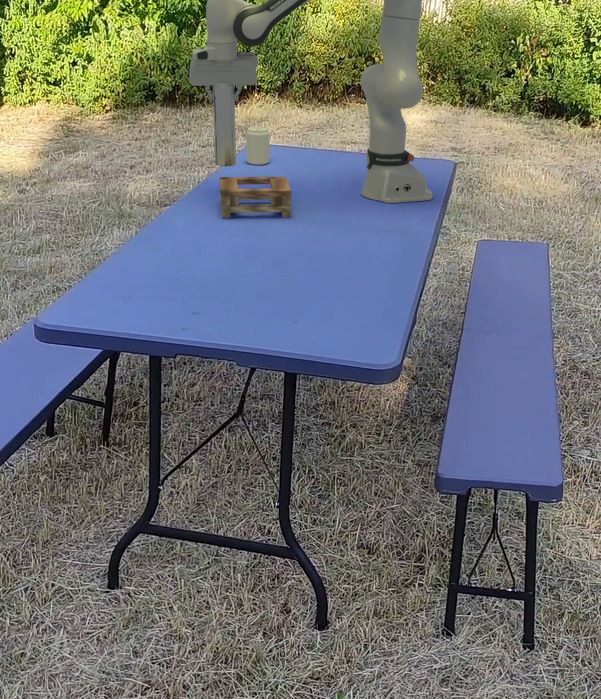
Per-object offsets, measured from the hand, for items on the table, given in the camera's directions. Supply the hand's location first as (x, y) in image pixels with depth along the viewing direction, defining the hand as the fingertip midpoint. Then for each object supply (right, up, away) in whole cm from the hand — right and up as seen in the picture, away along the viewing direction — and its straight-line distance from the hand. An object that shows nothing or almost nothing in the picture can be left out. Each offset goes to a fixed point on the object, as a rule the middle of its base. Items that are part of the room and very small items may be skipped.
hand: (223, 100), depth 257 cm
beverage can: (+8, -9, +46) cm, 48 cm away
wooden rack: (+9, -34, -3) cm, 35 cm away
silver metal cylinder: (0, -17, +9) cm, 20 cm away
